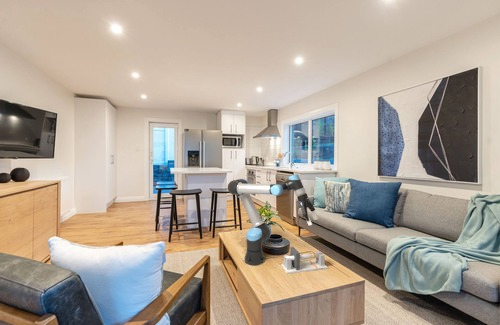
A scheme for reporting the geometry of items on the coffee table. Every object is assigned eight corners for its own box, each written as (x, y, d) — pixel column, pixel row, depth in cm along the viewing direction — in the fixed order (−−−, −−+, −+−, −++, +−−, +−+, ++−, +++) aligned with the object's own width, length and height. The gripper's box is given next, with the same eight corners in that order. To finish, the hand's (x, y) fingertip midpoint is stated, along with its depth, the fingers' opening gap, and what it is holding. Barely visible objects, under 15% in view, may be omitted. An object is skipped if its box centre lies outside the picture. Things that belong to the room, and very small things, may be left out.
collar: (296, 269, 158) (296, 253, 157) (290, 262, 168) (290, 247, 168) (299, 269, 158) (299, 253, 158) (293, 261, 169) (293, 246, 168)
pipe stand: (287, 273, 156) (287, 260, 155) (281, 265, 168) (281, 252, 167) (327, 268, 162) (327, 255, 162) (319, 261, 174) (319, 249, 173)
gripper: (299, 196, 158) (312, 226, 154) (311, 190, 179) (322, 216, 175) (290, 199, 162) (303, 228, 158) (302, 193, 183) (314, 218, 179)
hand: (313, 222), depth 167 cm, fingers open, 13 cm apart
